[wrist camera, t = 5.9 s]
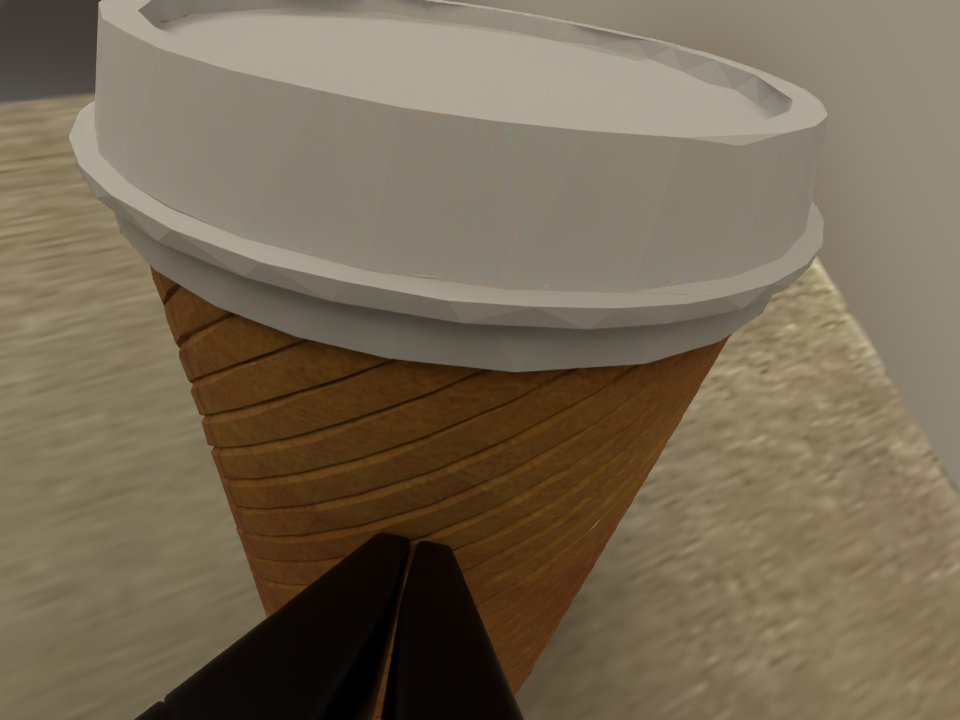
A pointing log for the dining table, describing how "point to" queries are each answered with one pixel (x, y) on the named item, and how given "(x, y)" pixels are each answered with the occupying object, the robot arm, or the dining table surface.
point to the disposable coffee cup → (443, 267)
